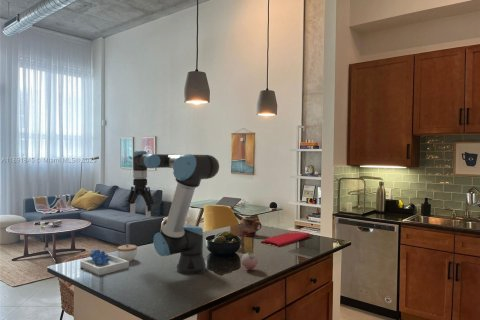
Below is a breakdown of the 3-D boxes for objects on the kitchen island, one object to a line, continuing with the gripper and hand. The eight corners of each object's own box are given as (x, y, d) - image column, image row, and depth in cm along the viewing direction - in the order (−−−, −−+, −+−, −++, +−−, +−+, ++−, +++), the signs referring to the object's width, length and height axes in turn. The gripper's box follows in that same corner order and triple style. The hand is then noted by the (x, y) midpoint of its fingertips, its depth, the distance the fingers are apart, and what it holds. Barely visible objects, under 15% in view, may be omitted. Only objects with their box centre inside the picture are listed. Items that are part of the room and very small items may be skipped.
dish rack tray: (128, 267, 191) (128, 261, 191) (98, 275, 178) (98, 268, 178) (109, 260, 203) (109, 254, 203) (80, 267, 190) (80, 261, 190)
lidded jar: (131, 263, 198) (131, 246, 198) (113, 262, 200) (113, 245, 200) (140, 258, 209) (140, 242, 209) (123, 257, 211) (123, 241, 211)
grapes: (109, 270, 196) (99, 257, 203) (115, 260, 196) (105, 247, 202) (91, 270, 186) (81, 256, 193) (98, 259, 186) (88, 245, 193)
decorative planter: (266, 236, 272) (266, 217, 272) (257, 239, 262) (257, 220, 262) (244, 232, 283) (244, 215, 283) (235, 235, 273) (235, 217, 273)
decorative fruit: (238, 268, 192) (238, 249, 192) (252, 266, 195) (253, 248, 195) (245, 273, 183) (245, 254, 183) (259, 272, 186) (260, 252, 186)
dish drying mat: (260, 243, 249) (260, 238, 249) (293, 234, 280) (293, 230, 279) (278, 247, 239) (278, 242, 239) (311, 238, 269) (311, 233, 269)
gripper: (160, 178, 197) (160, 217, 196) (132, 177, 212) (132, 213, 211) (149, 179, 191) (149, 218, 190) (121, 178, 206) (121, 215, 205)
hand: (140, 216), depth 201 cm, fingers open, 13 cm apart
